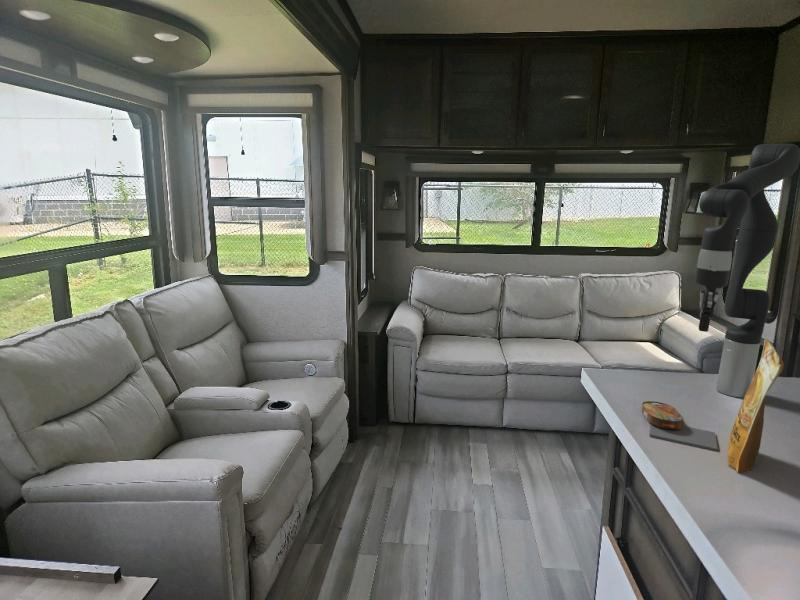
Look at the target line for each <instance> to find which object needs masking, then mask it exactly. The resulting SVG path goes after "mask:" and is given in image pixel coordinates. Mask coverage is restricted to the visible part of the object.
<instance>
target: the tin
mask: <svg viewBox="0 0 800 600" xmlns="http://www.w3.org/2000/svg"><path fill="white" fill-rule="evenodd" d="M641 413H642V415H643V416H644V417H645V418H646V420H647V421H648V423H649V424H652V425H655V426H657V427H661V428H669V429H680V428H681V427H682V426H683V422H684V417H683V415H681V413H680V412H679V411H678V410H677V409H676V408H675V407H674V406H672V405H670V404H667V403H665V402H661V401H660V402H659V401H654V400H651V401H650V400H649V401H647V400H646V401H643V402H642V405H641Z"/></svg>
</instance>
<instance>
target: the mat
mask: <svg viewBox="0 0 800 600" xmlns="http://www.w3.org/2000/svg"><path fill="white" fill-rule="evenodd" d="M649 424H650V426H649V438H655V439H660V440H665V441H669V442H673V443H677V444H682V445H688V446H692V447H697V448H701V449H705V450H710V451H714V452H718V451H719V448H718V447H719V446H718V442H717V437H716V433H715V432H716V431H715V432H714V431H709V430H705V429H700V428H695V427H690V426H687V425H686V426H685V425H682V427H681V428H680V429H669V428H661V427H657V426H655V425H652V424H651V423H649Z"/></svg>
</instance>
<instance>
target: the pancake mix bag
mask: <svg viewBox="0 0 800 600" xmlns="http://www.w3.org/2000/svg"><path fill="white" fill-rule="evenodd" d="M762 347H763V348H762V352H761V356H760V358H759V362H758V366H757V368H756V369H755V374H754V377H753V380H752V382H751V384H750V386H749V388H748V390H747V393H746V395H745V397H744V398H743V400H742V401H741V406H740V407H739V410H738V412H737V415H736V417H735V420H734V424H733V426H732V430H731V432H730V436H729V439H728V449H727V450H728V452H727V464H728V467H730V468H731V469H733V470H735V471H736V473H749V472H750V471H752V469H753V467H754V465H755V462H756V460H757V457H758V454H759V452H760V449H761V442H762V437H763V436H762V435H763V429H764V421H765V420H764V419H765V417H764V416H765V408H766V405H765V404H766V395H767V394H768V392H769V391H770V389H771V388H772V386H773V385H774V383H775V382H776V380H777V379H778V377H779V376H780V374H781V373H782V372H783V369H784V366H785V364H784V360H783V359H782V358H781V356H780V355H779V354H778V352H777V351H776V348H775V347H774V345H773V344H772V343H771V341H770V340H769V339H768V338H766V339H763V346H762Z"/></svg>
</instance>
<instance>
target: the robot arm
mask: <svg viewBox="0 0 800 600" xmlns="http://www.w3.org/2000/svg"><path fill="white" fill-rule="evenodd" d="M799 166H800V147H799V146H798V145H796V144H794V143H761V144H757V145H756V146H755V147H754V148H753V150H752V151H751V154H750V157H749V163H748V169H746V170H743V171H742V172H739V173H738V174H737V175H735V176H734V177H733V178H731V179H730V180H729V181H727V182H723V183H720V184H717V185H715V186H712V187H710V188H709V189H707V190H706V191H705V192H704V193H703V194H702V195H701V198H700V199H699V203H698V206H699V210H700V212H701V213H702V214H703V215H705V216H706V217H712V218H713V217H714V218H725V220H724V221H723V223H722V224H721V225H714V226H707V227H705V229H703V233H702V238H701V244H700V245H701V246H700V251H699V254H698V259H697V263H696V264H697V265H696V270H695V277H694V283H695V284H697V285H699V286H703V290H701V289H700V292H699V297H700V298H699V312H700V313H699V316H700V317H699V322H698V323H699V324H698V331H699V332H705V333H706V332H708V331H709V328H710V322H711V319H712V318H713V317H714V315H713V313H714V311H715V310H716V304H717V301H718V300H719V299H718V298H719V292H718V291H717V288H726V287H727V286H728V288H727V291H726V296H725V301H724V314H725V315H726V317H729V318H734V319H743V320H748V321H747V322H745V323H743V324H740V325H737V326H732V327H729V328H726V330H725V334H724V339H723V340H724V341H723V346H722V352H721V358H720V363H719V364H720V365H719V370H718V375H717V381H716V387H715V390H716V391H717V392H719V393H721V394H723V395H726V396H729V397H734V398H741V399H742V398H743V399H744V397H745V395H746V393H747V390H748V388H749V386H750V384H751V382H752V380H753V377H754V375H755V372H756V369H757V368H756V367H757V362H758V357H759V352H760V351H759V350H760V346H761V340H762V336H763V333H764V329H765V324H766V320H767V317H768V313H769V309H770V303H771V300H770V299H771V298H770V294H769V292H768V291H767V290H765V289H758V288H755V289H754V288H746V287H744V286H745V283H746V280H747V279H748V277H749V275H750V274H751V272H752V271H753V270H754V269H755V268H756V267H757V266H758V265H759V264H760V263H761V262H762V261H763V260H764V259H765V258H766V257H767V256H768V255H769V254H770V253H771V251H772V250H773V249H774V248H775V246H776V245H775V244H776V239H777V235H778V229H779V222H778V219H777V217H776V216H777V215H775V212H774V211H773V209H772V207H771V205H770V203H769V201H768V199H767V196H766V192H765V189H766V188H768V187H770V186H772V185H774V184H777V183H778V182H781V181H782V180H785V179H787V178H789V177H791V176H792V175H793V174H794V173H795V172H796V171H797V169H798V167H799ZM738 228H739V230H738ZM737 231H738V235H737V242H736V249H735V257H734V263H733V268H732V272H731V265H732V261H733V258H732V257H733V248H734V242H735V237H736V234H737ZM730 272H731V274H730ZM730 275H731V276H730ZM729 278H730V280H729Z"/></svg>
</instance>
